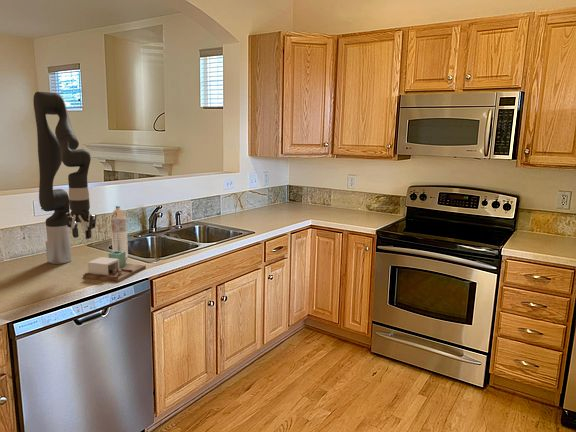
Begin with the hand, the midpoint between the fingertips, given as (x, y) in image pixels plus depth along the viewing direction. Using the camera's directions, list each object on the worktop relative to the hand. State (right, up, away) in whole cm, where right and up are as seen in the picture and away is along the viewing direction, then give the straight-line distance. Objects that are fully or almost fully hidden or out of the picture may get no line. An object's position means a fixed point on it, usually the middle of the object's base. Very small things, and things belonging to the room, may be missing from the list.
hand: (82, 237), depth 184 cm
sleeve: (+11, -13, +10) cm, 20 cm away
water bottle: (+6, -11, +26) cm, 29 cm away
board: (+12, -15, +4) cm, 20 cm away
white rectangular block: (+9, -14, 0) cm, 17 cm away
